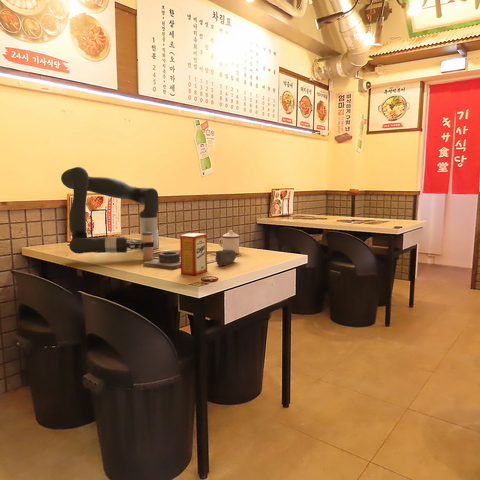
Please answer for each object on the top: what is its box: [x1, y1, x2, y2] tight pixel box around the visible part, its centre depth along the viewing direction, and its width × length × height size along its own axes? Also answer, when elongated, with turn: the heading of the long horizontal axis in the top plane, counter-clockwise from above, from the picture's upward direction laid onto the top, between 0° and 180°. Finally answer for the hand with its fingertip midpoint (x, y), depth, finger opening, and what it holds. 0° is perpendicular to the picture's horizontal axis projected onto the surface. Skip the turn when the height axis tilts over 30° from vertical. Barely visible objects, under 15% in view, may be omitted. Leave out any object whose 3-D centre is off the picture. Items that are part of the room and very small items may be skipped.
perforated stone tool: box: [214, 249, 237, 267], centre depth 179 cm, size 15×5×7 cm, turn 148°
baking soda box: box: [179, 232, 208, 277], centre depth 161 cm, size 10×6×16 cm
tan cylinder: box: [142, 232, 154, 261], centre depth 188 cm, size 5×5×13 cm
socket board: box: [143, 251, 181, 271], centre depth 178 cm, size 16×16×5 cm
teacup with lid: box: [218, 229, 240, 254], centre depth 208 cm, size 12×9×12 cm
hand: (153, 243), depth 189 cm, fingers closed on tan cylinder, 4 cm apart
